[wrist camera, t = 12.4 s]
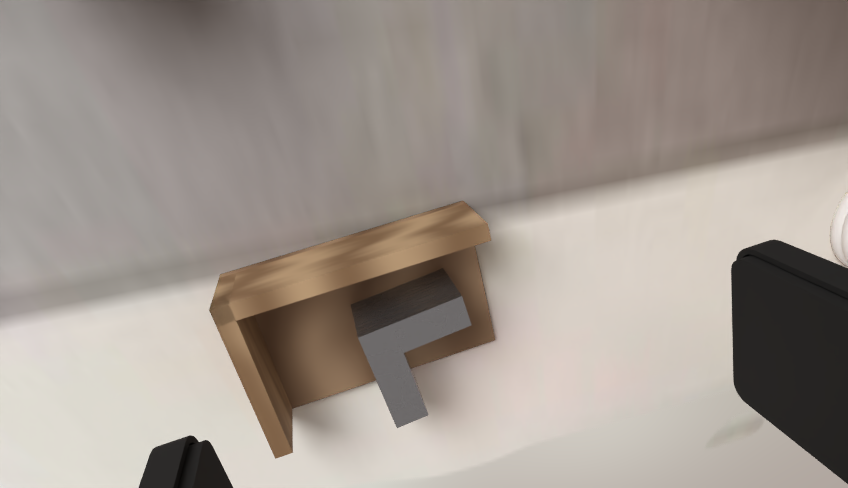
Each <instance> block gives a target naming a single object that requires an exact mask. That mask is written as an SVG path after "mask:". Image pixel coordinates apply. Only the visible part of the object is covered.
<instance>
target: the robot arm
mask: <svg viewBox="0 0 848 488" xmlns="http://www.w3.org/2000/svg"><path fill="white" fill-rule="evenodd" d="M731 280H732V329H733V377H734V386H735V389H736V391H737V393H738V394H739V396H740V397H741V398H742V400H743V401H744V402H746V403H747V404H748V405H749V406H750V407H752V408H753V409H754V410H755V411H757V412H758V413H759V414H760V415H762V416H763V417H764V418H766V419H767V420H768V421H769V422H771V423H772V424H773V425H774V426H776V427H777V428H778V429H779V430H781V431H782V432H783V433H784V434H786V435H787V436H788V437H789V438H791V439H792V440H793V441H795V442H796V443H797V444H798V445H799V446H801V447H802V448H803V449H805V450H806V451H807V452H808V453H810V454H811V455H812V456H813V457H815V458H816V459H817V460H818V461H820V462H821V463H822V464H823V465H825V466H826V467H827V468H828V469H830V470H831V471H832V472H833V473H835V474H836V475H837V476H838V477H840V478H841V479H842V480H843V481H845V482H846V483H847V484H848V268H845V267H843V266H840V265H838V264H836V263H833V262H831V261H828V260H826V259H823V258H821V257H818V256H816V255H813V254H811V253H809V252H806V251H804V250H801V249H799V248H796V247H794V246H791V245H789V244H787V243H784V242H782V241H778V240H769V241H766V242H763V243H760V244H757V245H754V246H751V247H748V248H746V249H743V250H742V251H740V252H739V254H738V256H737V260H736V261H735V262H733V264H732V268H731ZM139 488H233V486H232V484H231V482H230V480H229V478H228V476H227V474H226V472H225V470H224V468H223V466H222V464H221V462H220V460H219V458H218V456H217V454H216V452H215V450H214V448H213V446H212V445H211V443H210V442H209V441H207V440H205V441H202V442H198V440H197V439H196V438H195V437H194V436H187V437H184V438H181V439H178V440H175V441H172V442H169V443H166V444H164V445H161V446H158V447H155V448H154V449H153V450H152V452H151V453H150V456H149V459H148V462H147V465H146V468H145V471H144V474H143V477H142V479H141V482H140V485H139Z"/></svg>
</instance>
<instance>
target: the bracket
mask: <svg viewBox="0 0 848 488" xmlns="http://www.w3.org/2000/svg"><path fill="white" fill-rule="evenodd" d="M351 309H352V313H353V318H354V322H355V327H356V331H357V336H358V339H359V341H360V344H361V346H362V348H363V351H364V353H365V355H366V357H367V360H368V362H369V364H370V367H371V369H372V371H373V374H374V376H375V378H376V381H377V383H378V385H379V388H380V390H381V392H382V394H383V397H384V399H385V401H386V404H387V406H388V408H389V411H390V413H391V415H392V418H393V420H394V422H395V424H396V427H397V428H399V427H401V426H403V425H406V424H408V423H411V422H413V421H415V420H418V419H420V418H423V417H425V416H427V415H428V413H427V410H426V407H425V405H424V402H423V399H422V396H421V394H420V391H419V388H418V385H417V383H416V380H415V377H414V375H413V372H412V370H411V367H410V365H409V362H408V360H407V357H406V355H405V352H407V351H410V350H412V349H415V348H417V347H420V346H422V345H425V344H427V343H429V342H432V341H434V340H437V339H439V338H442V337H444V336H447V335H449V334H452V333H454V332H456V331H459V330H461V329H464V328H466V327H469V326H471V322H470V319H469V316H468V313H467V310H466V307H465V304H464V301H463V297H462V295H461V294H460V292H459V291H458V289H457V288H456V286H455V285H454V283H453V282H452V280H451V279H450V277H449V276H448V274H447V273H446V271H445V270H444V268H442V269H439V270H437V271H434V272H432V273H429V274H427V275H424V276H422V277H419V278H417V279H414V280H412V281H409V282H407V283H404V284H402V285H399V286H396V287H394V288H391V289H389V290H386V291H384V292H381V293H379V294H376V295H374V296H371V297H369V298H366V299H364V300H361V301H359V302H356V303H353V304H351Z"/></svg>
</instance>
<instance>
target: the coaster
mask: <svg viewBox="0 0 848 488" xmlns="http://www.w3.org/2000/svg"><path fill="white" fill-rule="evenodd" d="M830 240H831V246H832V249H833V252H834V254H835V256H836V257H837V258H838V259H839V260H840V261H841V262H842V263H843V264H844V265H846V266H848V191H847V192H846V193H845V195H844V196H843V198H842V199H841V201H840V203H839V205H838V207H837V209H836V211H835V213H834V216H833V220H832V224H831V231H830Z"/></svg>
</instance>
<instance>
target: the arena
mask: <svg viewBox="0 0 848 488" xmlns="http://www.w3.org/2000/svg"><path fill="white" fill-rule="evenodd" d="M488 241H491V237H490V232H489V227H488V223H486V222H485V221H484V220H483V219H482V218H481V217H480V216H479V215H478V214H477V213H476V212H475V211H474V210H472V209H471V208H470V207H469V206H468V205H467V204H466V203H465V202H464V201H460V202H457V203H454V204H451V205H447V206H444V207H441V208H437V209H434V210H431V211H428V212H424V213H421V214H418V215H414V216H411V217H408V218H405V219H401V220H398V221H395V222H391V223H388V224H385V225H382V226H378V227H375V228H372V229H368V230H365V231H362V232H358V233H355V234H352V235H349V236H345V237H342V238H339V239H335V240H332V241H329V242H326V243H322V244H319V245H316V246H312V247H309V248H306V249H303V250H299V251H296V252H293V253H289V254H286V255H283V256H280V257H276V258H273V259H270V260H266V261H263V262H260V263H257V264H253V265H250V266H247V267H243V268H240V269H237V270H234V271H230V272H227V273H224V274H220V277H219V280H218V284H217V287H216V290H215V293H214V297H213V300H212V303H211V306H210V310H209V311H210V313H211V315H212V317H213V320H214V322H215V324H216V326H217V329H218V331H219V333H220V335H221V338H222V340H223V342H224V344H225V347H226V349H227V351H228V353H229V356H230V358H231V360H232V362H233V364H234V367H235V369H236V371H237V373H238V376H239V378H240V380H241V382H242V385H243V387H244V389H245V391H246V394H247V396H248V398H249V400H250V403H251V405H252V407H253V409H254V412H255V414H256V416H257V418H258V421H259V423H260V425H261V427H262V430H263V432H264V434H265V436H266V438H267V441H268V443H269V445H270V447H271V450H272V452H273V454H274V456H275V459H276V458H279V457H282V456H284V455H287V454H290V453H293V441H292V409H293V408H296V407H299V406H302V405H305V404H308V403H310V402H313V401H316V400H319V399H322V398H325V397H328V396H331V395H334V394H337V393H340V392H343V391H346V390H349V389H352V388H355V387H358V386H361V385H364V384H367V383H370V382H373V381H375V380H376V378H375V376H374V374H373V371H372V369H371V367H370V364H369V362H368V360H367V357H366V355H365V353H364V351H363V348H362V346H361V344H360V341H359V339H358V336H357V331H356V327H355V322H354V318H353V313H352V309H351V304H353V303H356V302H359V301H361V300H364V299H366V298H369V297H371V296H374V295H376V294H379V293H381V292H384V291H386V290H389V289H391V288H394V287H396V286H399V285H402V284H404V283H407V282H409V281H412V280H414V279H417V278H419V277H422V276H424V275H427V274H429V273H432V272H434V271H437V270H439V269H442V268H444V270H445V271H446V273H447V274H448V276H449V277H450V279H451V280H452V282H453V283H454V285H455V286H456V288H457V289H458V291H459V292H460V294H461V295H462V297H463V301H464V304H465V307H466V310H467V313H468V316H469V319H470V322H471V326H469V327H466V328H464V329H461V330H459V331H456V332H454V333H452V334H449V335H447V336H444V337H442V338H439V339H437V340H434V341H432V342H429V343H427V344H425V345H422V346H420V347H417V348H415V349H412V350H410V351H407V352H405V355H406V357H407V360H408V362H409V365H410V367H411V368H414V367H417V366H420V365H423V364H426V363H429V362H432V361H435V360H438V359H440V358H443V357H446V356H449V355H452V354H455V353H458V352H461V351H464V350H467V349H470V348H473V347H476V346H479V345H482V344H485V343H488V342H491V341H494V340H495V336H494V332H493V327H492V322H491V318H490V313H489V309H488V304H487V300H486V295H485V290H484V286H483V281H482V277H481V272H480V268H479V263H478V258H477V254H476V249H475V245H478V244H481V243H485V242H488Z"/></svg>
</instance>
